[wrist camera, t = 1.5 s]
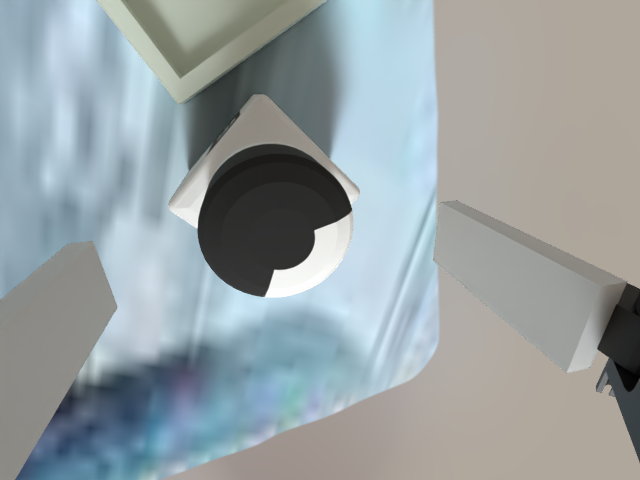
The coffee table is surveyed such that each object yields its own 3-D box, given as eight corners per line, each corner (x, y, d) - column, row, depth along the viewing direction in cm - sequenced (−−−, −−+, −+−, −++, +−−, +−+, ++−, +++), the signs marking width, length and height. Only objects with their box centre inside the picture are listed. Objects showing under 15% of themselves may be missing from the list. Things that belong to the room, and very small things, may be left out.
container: (185, 174, 23) (132, 255, 11) (254, 91, 22) (272, 88, 10) (267, 235, 26) (288, 344, 15) (330, 166, 25) (407, 227, 14)
